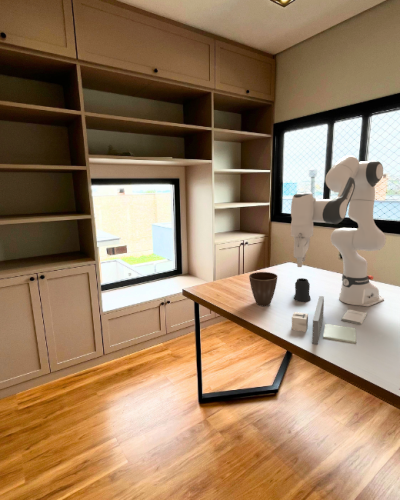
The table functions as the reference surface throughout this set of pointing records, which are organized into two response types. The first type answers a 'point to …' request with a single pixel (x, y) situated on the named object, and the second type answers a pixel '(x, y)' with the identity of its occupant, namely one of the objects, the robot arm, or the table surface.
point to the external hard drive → (354, 317)
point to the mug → (302, 290)
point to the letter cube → (300, 321)
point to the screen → (318, 320)
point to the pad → (339, 333)
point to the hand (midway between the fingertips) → (301, 263)
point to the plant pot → (263, 287)
